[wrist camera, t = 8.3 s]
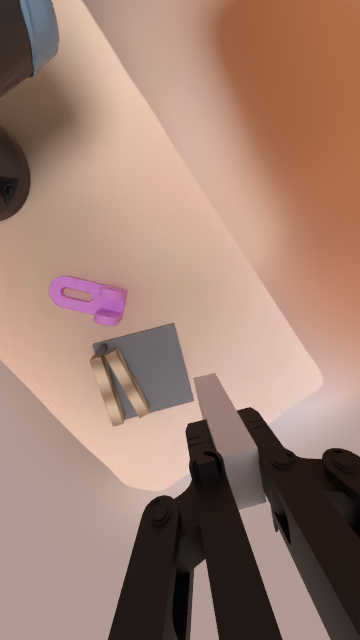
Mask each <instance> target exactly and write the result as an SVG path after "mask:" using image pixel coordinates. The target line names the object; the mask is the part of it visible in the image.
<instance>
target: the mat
mask: <svg viewBox="0 0 360 640" xmlns="http://www.w3.org/2000/svg"><path fill="white" fill-rule="evenodd" d="M104 343H105V344H107V345H108V349H107V350H106V352H105V353H104V354H105V355H106V353H107V352H108V351H110V350H112V349H114V348H116V347H118V349H119V351H120V353H121V354H122V356H123V358H124V360H125V362H126V364H127V365H128V367H129V369H130V371H131V373H132V375H133V377H134V378H135V380H136V382H137V384H138V386H139V388H140V389H141V391H142V393H143V395H144V397H145V399H146V400H147V402H148V404H149V406H150V407H149V413H151V412H155V411H159V410H162V409H166V408H170V407H173V406H177V405H181V404H184V403H188V402H192V401H194V399H193V395H192V392H191V388H190V384H189V380H188V376H187V372H186V368H185V364H184V361H183V357H182V353H181V349H180V345H179V341H178V337H177V333H176V329H175V326H174V323H173V324H169V325H165V326H161V327H157V328H154V329H150V330H146V331H142V332H138V333H134V334H130V335H127V336H123V337H119V338H115V339H111V340H107V341H103V342H100V343H96V344H93V348H94V351H95V354H96V350H97V349H98V348H99V347H100V346H101V345H102V344H104ZM106 360H107V359H106ZM107 363H108V361H107ZM108 366H109V369H110V372H111V375H112V378H113V381H114V384H115V387H116V390H117V393H118V396H119V399H120V402H121V405H122V408H123V411H124V414H125V419H124V420H126V419H129V418H133V417H137V416H138V414H137V413H136V411H135V409H134V407H133V405H132V404H131V402H130V400H129V398H128V397H127V395H126V393H125V391H124V389H123V388H122V386H121V384H120V382H119V380H118V379H117V377H116V375H115V373H114V372H113V370H112V368H111V366H110V364H109V363H108Z"/></svg>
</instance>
